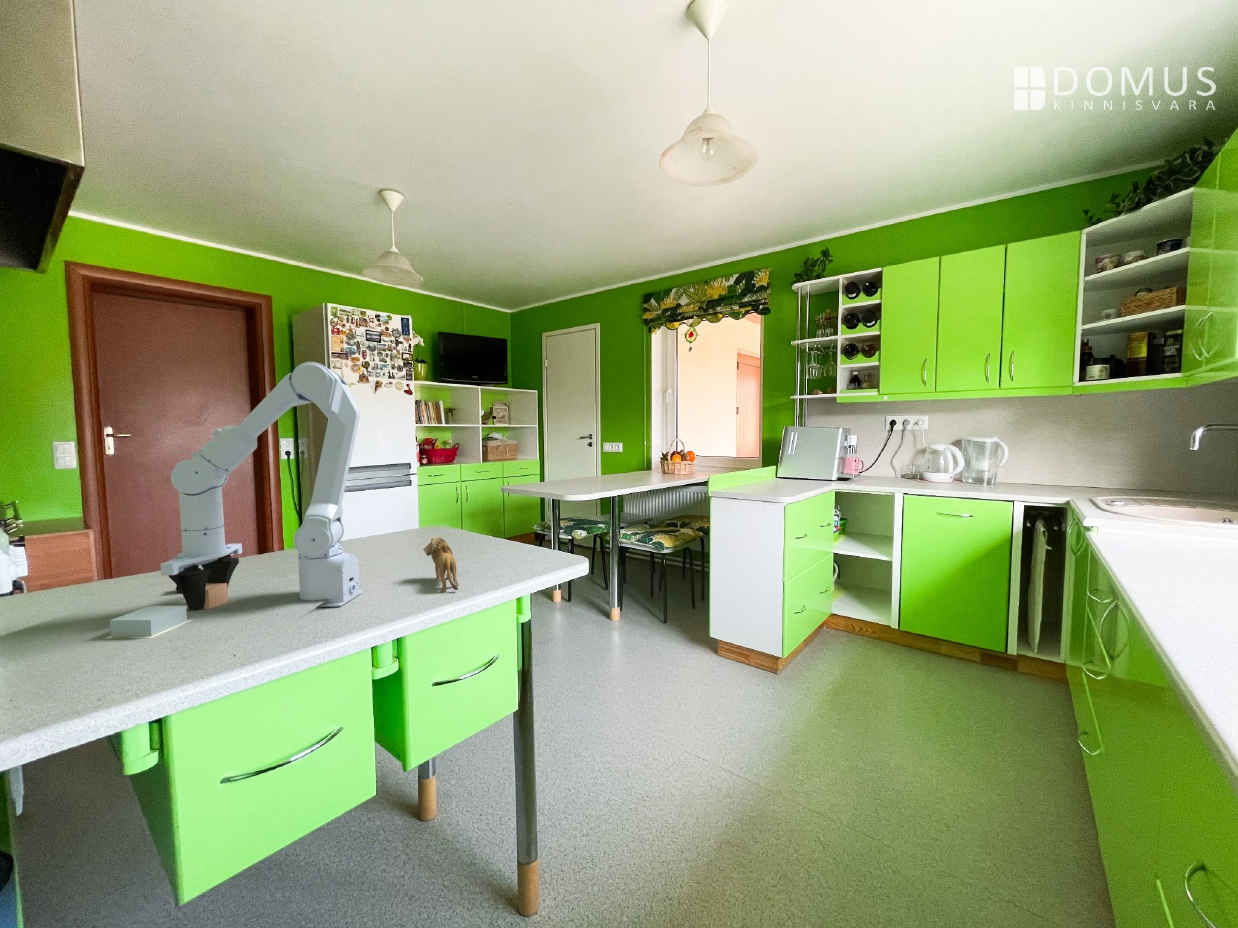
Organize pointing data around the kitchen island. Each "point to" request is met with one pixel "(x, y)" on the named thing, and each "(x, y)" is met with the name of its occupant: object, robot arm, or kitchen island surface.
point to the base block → (148, 621)
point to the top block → (214, 595)
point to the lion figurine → (442, 562)
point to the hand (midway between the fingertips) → (207, 603)
